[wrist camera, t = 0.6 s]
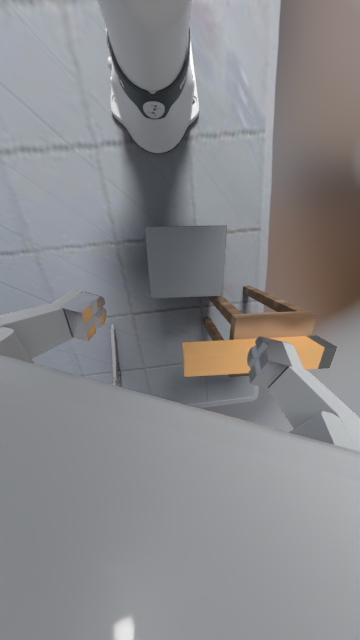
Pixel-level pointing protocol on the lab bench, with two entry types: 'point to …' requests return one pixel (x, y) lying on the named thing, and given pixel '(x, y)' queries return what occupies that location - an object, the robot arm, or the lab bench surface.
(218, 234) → the crate
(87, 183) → the lab bench surface
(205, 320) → the wooden bar stool
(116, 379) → the caliper
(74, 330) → the robot arm
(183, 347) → the capped wooden beam
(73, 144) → the lab bench surface
